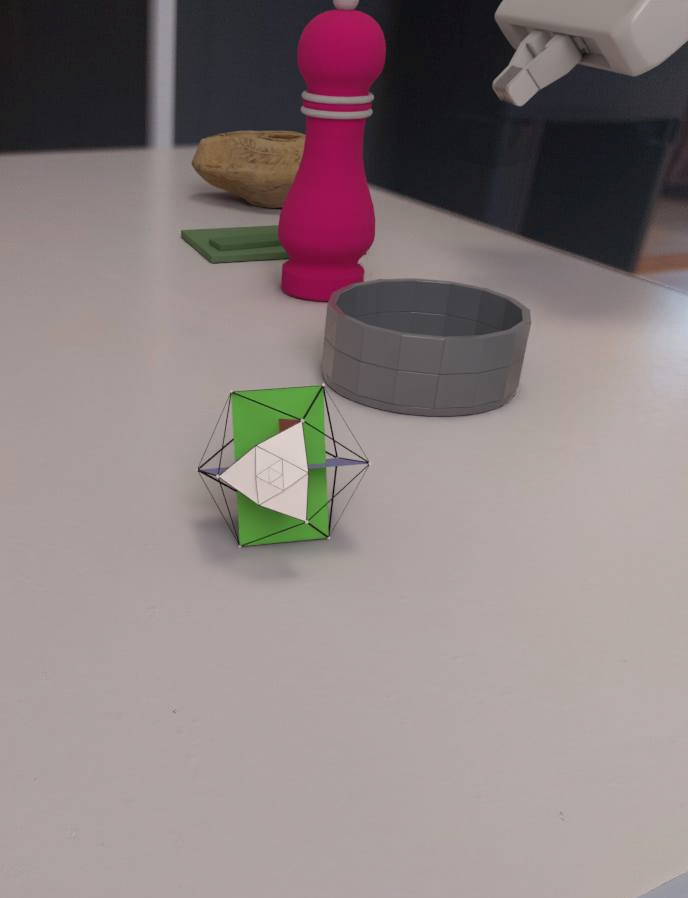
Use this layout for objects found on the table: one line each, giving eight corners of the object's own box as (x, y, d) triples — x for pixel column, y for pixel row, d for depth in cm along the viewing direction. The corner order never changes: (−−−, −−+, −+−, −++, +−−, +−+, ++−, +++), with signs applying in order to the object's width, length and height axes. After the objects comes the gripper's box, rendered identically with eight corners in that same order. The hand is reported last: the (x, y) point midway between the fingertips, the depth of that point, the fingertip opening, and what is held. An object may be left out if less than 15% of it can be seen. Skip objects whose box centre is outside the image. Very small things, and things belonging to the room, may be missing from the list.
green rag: (325, 229, 95) (326, 216, 95) (366, 253, 88) (367, 240, 88) (180, 237, 92) (180, 224, 91) (211, 263, 85) (211, 249, 84)
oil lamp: (193, 189, 109) (194, 104, 104) (334, 193, 109) (342, 109, 104) (188, 212, 100) (189, 120, 95) (342, 217, 100) (351, 125, 95)
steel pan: (472, 344, 69) (484, 276, 67) (548, 412, 60) (565, 335, 57) (302, 350, 67) (307, 280, 65) (352, 420, 58) (361, 341, 55)
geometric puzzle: (180, 445, 49) (204, 348, 42) (316, 434, 51) (363, 338, 43) (205, 583, 47) (235, 507, 40) (346, 568, 49) (402, 492, 41)
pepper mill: (328, 310, 75) (357, -16, 63) (255, 288, 79) (269, -21, 67) (387, 291, 79) (424, -17, 68) (315, 271, 83) (338, -22, 72)
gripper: (573, -103, 76) (428, 47, 80) (734, -112, 60) (542, 77, 64) (613, -30, 80) (473, 111, 84) (777, -20, 63) (592, 155, 67)
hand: (504, 96), depth 74 cm, fingers closed
